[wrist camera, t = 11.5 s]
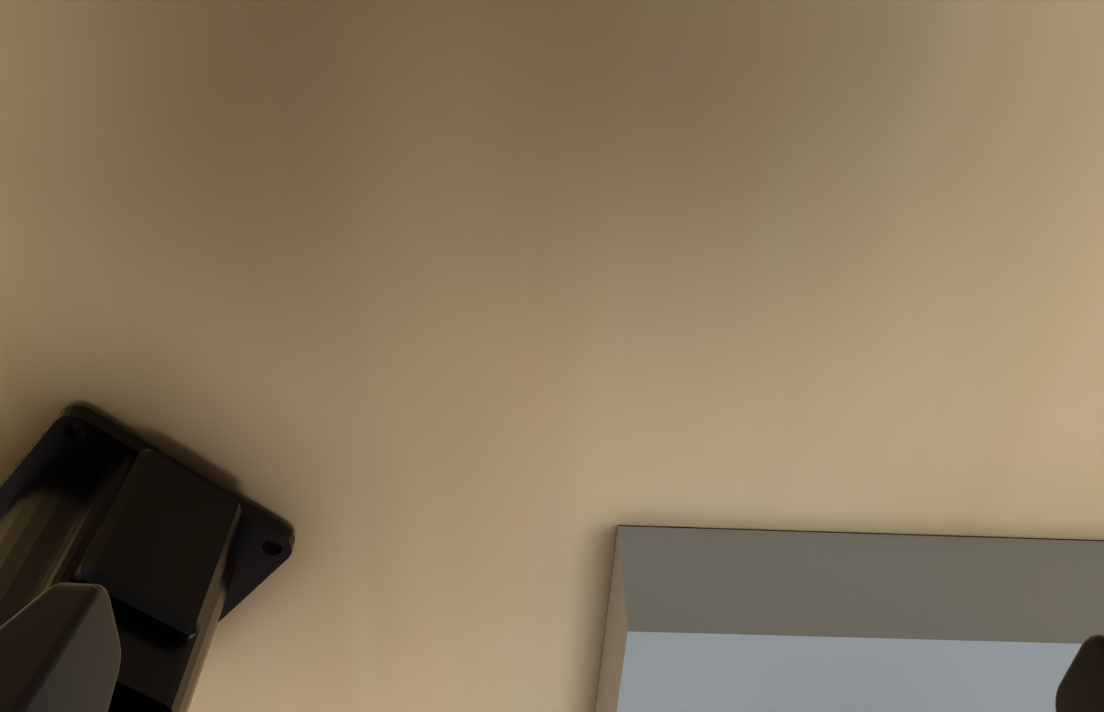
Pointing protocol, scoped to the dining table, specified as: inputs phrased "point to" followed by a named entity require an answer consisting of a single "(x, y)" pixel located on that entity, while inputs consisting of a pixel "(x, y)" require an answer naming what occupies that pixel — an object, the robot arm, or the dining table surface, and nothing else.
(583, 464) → the dining table surface
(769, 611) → the socket block
